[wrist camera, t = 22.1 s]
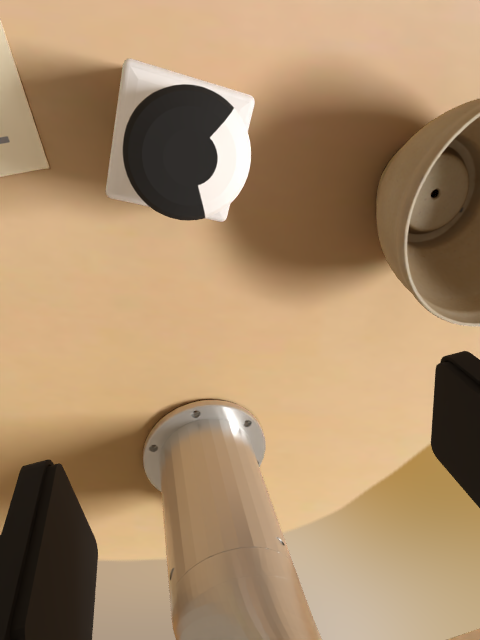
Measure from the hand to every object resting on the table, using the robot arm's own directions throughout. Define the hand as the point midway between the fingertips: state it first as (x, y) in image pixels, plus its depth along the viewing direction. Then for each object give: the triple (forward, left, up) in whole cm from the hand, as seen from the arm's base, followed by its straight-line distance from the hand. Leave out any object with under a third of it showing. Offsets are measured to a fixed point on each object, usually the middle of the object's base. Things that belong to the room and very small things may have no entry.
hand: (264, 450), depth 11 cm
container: (+5, -1, -28) cm, 29 cm away
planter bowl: (-3, -22, -28) cm, 36 cm away
